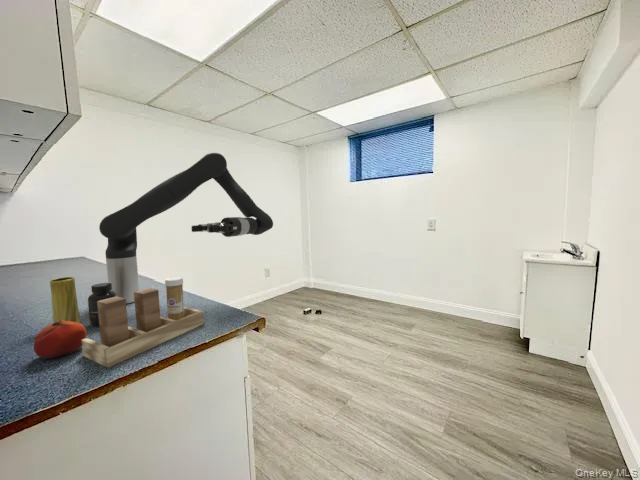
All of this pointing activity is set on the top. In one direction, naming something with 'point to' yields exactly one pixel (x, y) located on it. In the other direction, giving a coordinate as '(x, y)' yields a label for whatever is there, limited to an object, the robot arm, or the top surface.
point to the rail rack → (130, 341)
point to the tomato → (59, 339)
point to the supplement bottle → (99, 293)
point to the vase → (64, 300)
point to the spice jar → (175, 297)
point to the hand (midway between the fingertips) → (200, 229)
